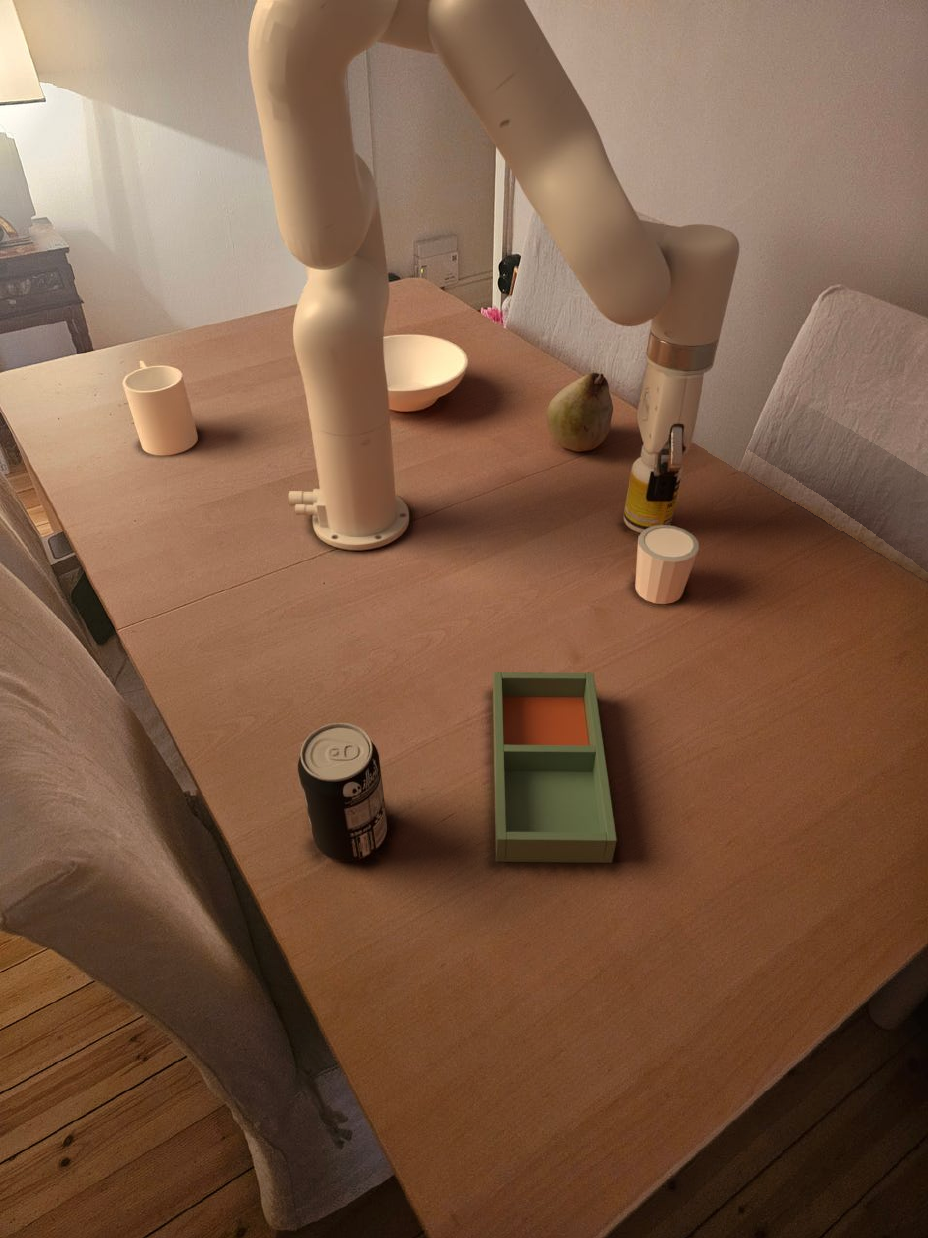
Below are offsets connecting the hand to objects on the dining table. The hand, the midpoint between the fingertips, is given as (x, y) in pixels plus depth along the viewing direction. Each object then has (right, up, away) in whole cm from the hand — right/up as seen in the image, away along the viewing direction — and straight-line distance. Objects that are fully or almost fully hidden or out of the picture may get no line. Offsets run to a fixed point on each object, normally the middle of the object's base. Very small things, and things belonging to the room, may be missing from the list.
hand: (654, 483), depth 103 cm
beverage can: (-34, -37, -30) cm, 58 cm away
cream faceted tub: (-1, -14, -5) cm, 15 cm away
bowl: (-33, +18, +29) cm, 47 cm away
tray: (-16, -32, -25) cm, 43 cm away
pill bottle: (0, -5, +4) cm, 6 cm away
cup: (-69, +11, +21) cm, 73 cm away
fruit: (-7, +9, +19) cm, 22 cm away
